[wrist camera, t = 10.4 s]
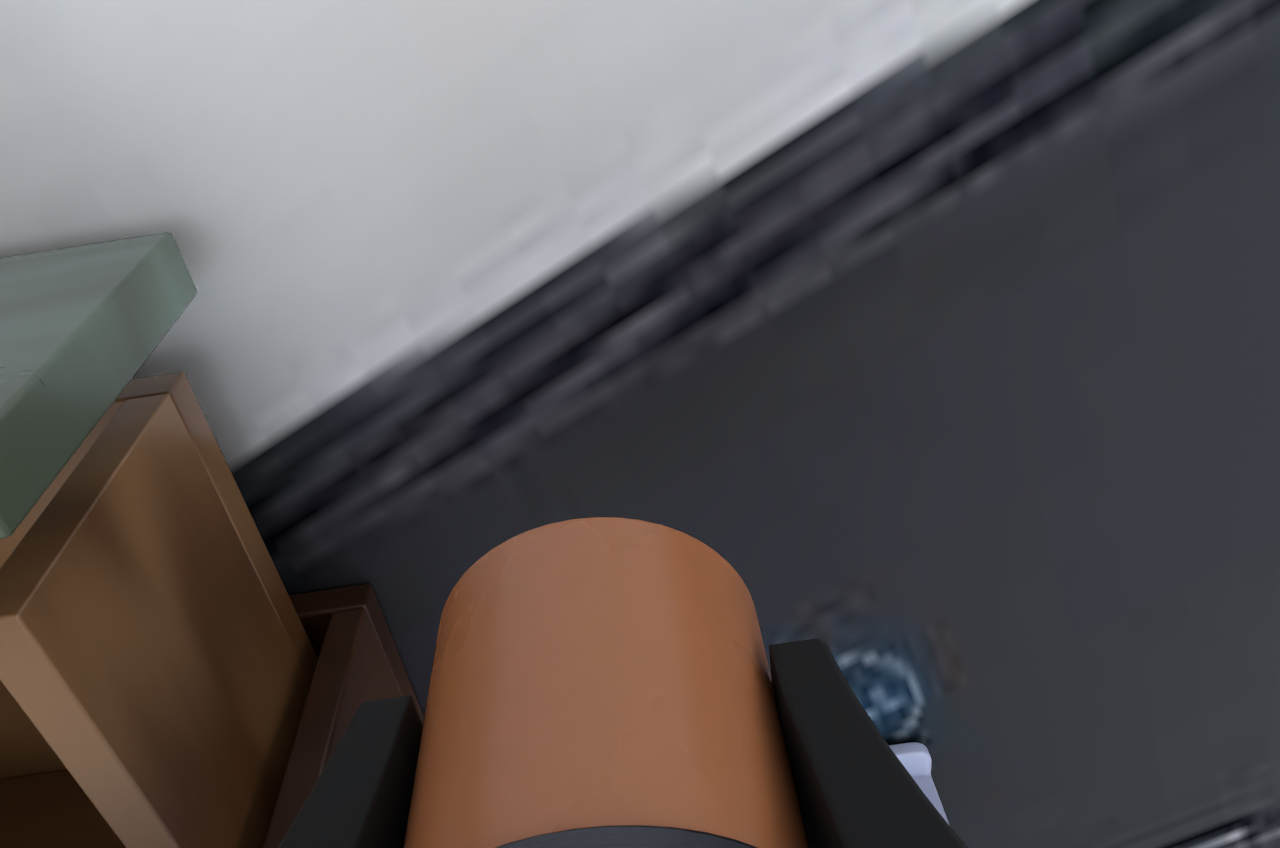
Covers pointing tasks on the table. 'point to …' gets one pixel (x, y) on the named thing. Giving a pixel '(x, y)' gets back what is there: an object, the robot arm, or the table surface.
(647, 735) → the spice tin
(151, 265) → the drawer
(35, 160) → the table surface
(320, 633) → the cabinet
